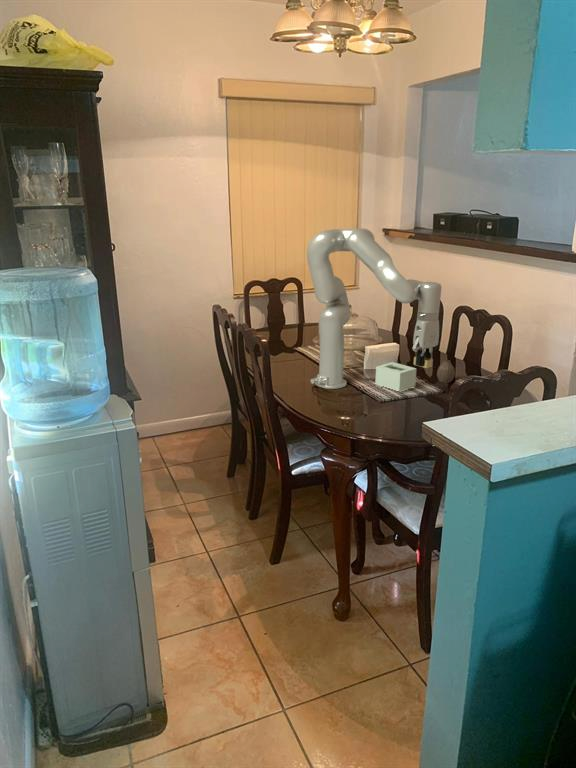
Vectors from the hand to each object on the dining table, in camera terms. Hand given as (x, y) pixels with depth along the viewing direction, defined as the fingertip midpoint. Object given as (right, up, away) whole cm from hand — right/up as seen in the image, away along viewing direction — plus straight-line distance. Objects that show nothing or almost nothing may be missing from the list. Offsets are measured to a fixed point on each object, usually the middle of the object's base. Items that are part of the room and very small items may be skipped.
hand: (422, 364), depth 212 cm
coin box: (-8, -9, +13) cm, 17 cm away
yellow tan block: (0, 0, 0) cm, 1 cm away
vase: (+14, -7, +20) cm, 25 cm away
